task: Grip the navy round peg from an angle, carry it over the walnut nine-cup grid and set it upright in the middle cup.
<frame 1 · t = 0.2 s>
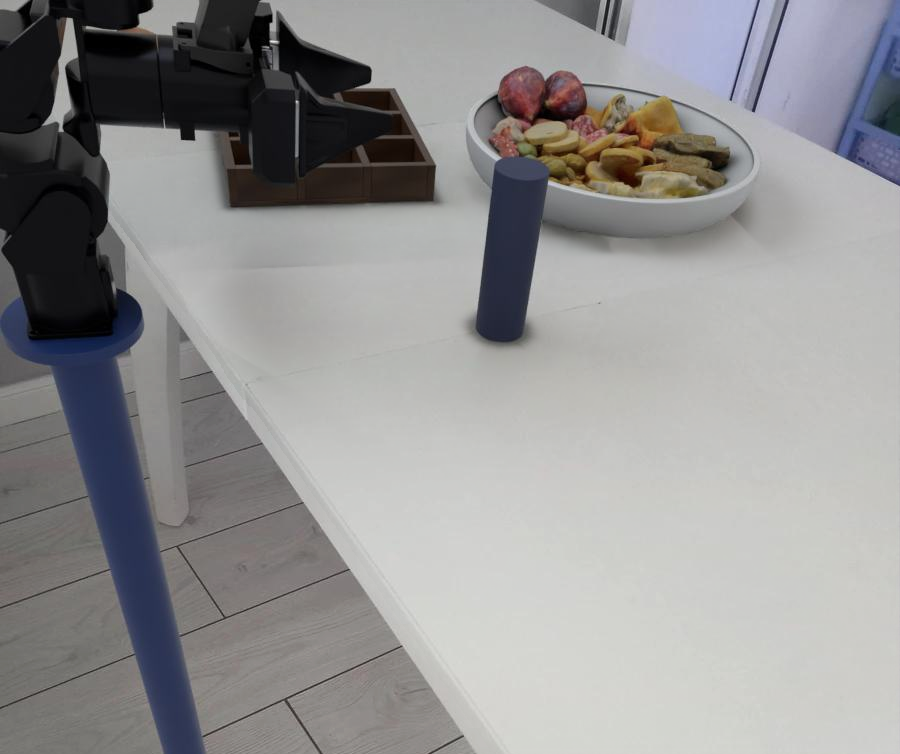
hand: (381, 97, 66), 15 cm above the table, tool horizontal, fingers open, 9 cm apart
navy round peg: (499, 329, 73), on the table
bowl: (602, 186, 94), on the table
grid: (319, 160, 92), on the table
sunglasses case: (171, 86, 102), on the table
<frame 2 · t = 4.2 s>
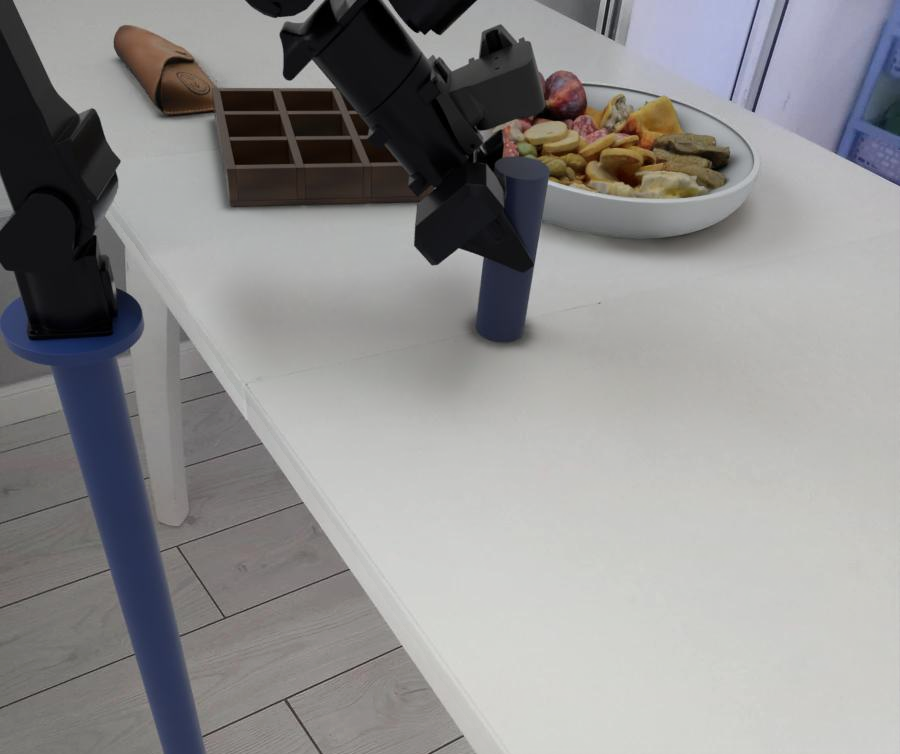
hand: (527, 254, 68), 7 cm above the table, tool tilted 45°, fingers closed on navy round peg, 4 cm apart
navy round peg: (499, 328, 73), on the table, touching gripper
everything else where it was.
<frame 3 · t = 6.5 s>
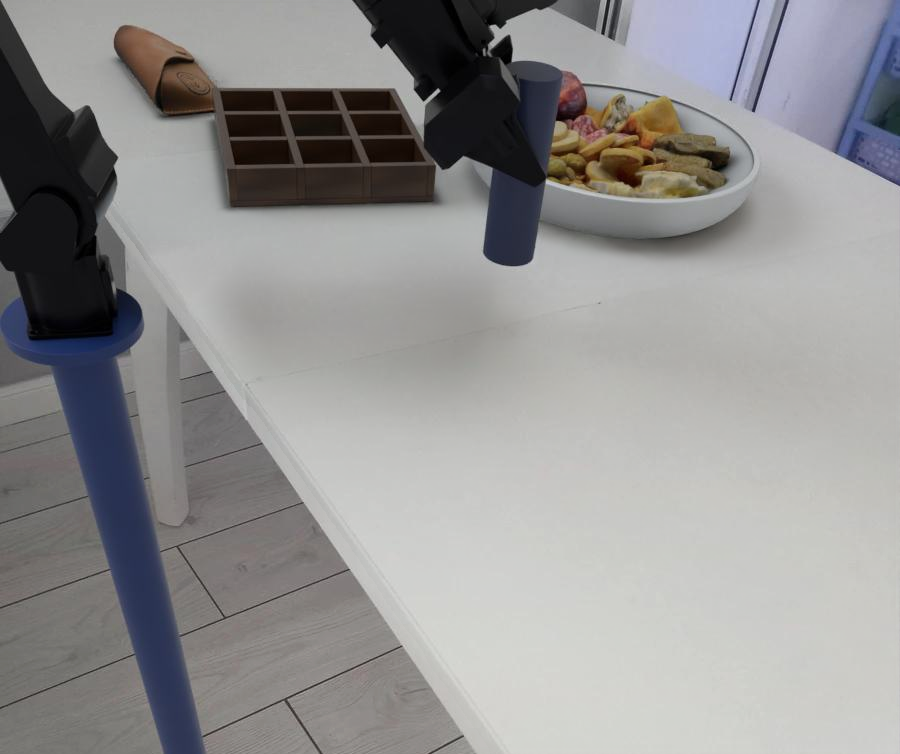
hand: (538, 169, 65), 13 cm above the table, tool tilted 45°, fingers closed on navy round peg, 4 cm apart
navy round peg: (508, 254, 70), point 6 cm above the table, touching gripper
everything else where it was.
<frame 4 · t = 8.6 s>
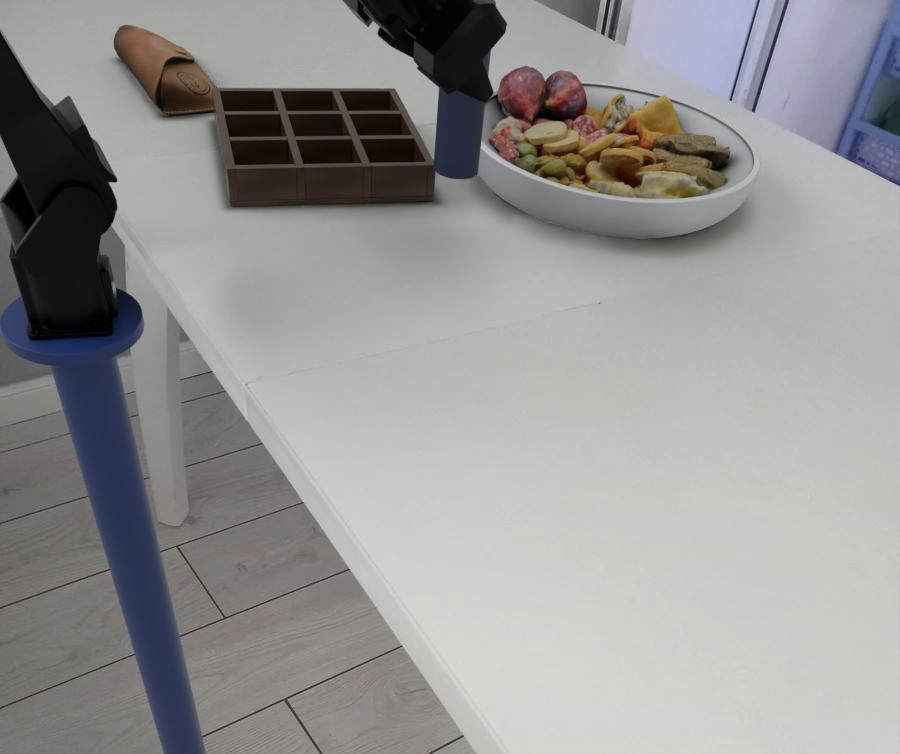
hand: (477, 88, 75), 13 cm above the table, tool tilted 45°, fingers closed on navy round peg, 4 cm apart
navy round peg: (455, 169, 79), point 6 cm above the table, touching gripper
everything else where it was.
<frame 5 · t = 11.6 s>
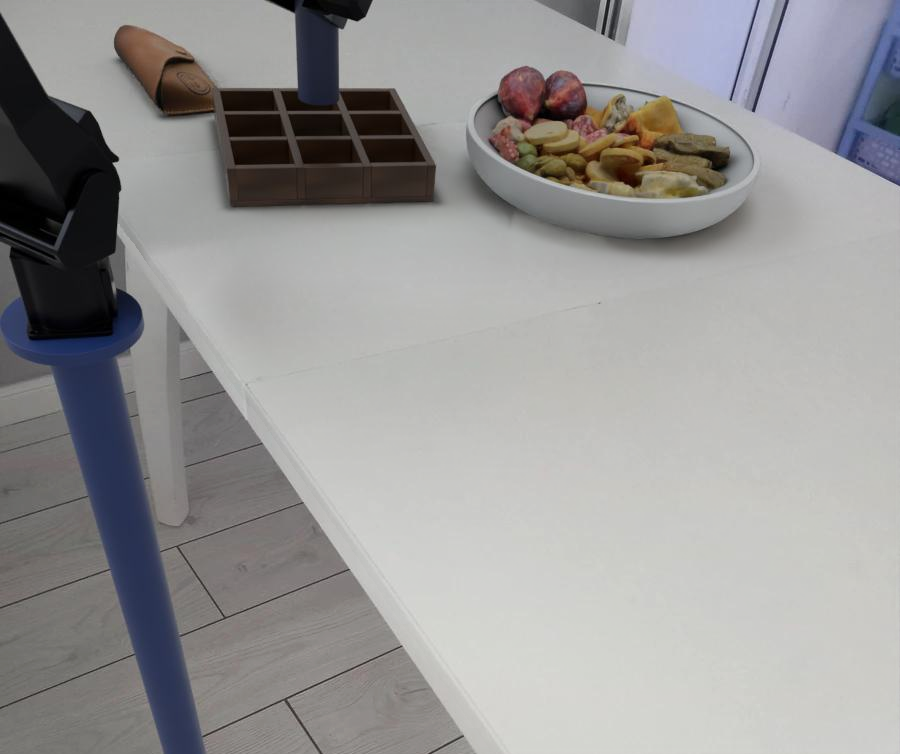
hand: (325, 18, 83), 13 cm above the table, tool tilted 45°, fingers closed on navy round peg, 4 cm apart
navy round peg: (318, 98, 87), point 6 cm above the table, touching gripper
everything else where it was.
when the fingers open (7 cm above the table, at t = 13.5 s): navy round peg stays where it is, resting on grid.
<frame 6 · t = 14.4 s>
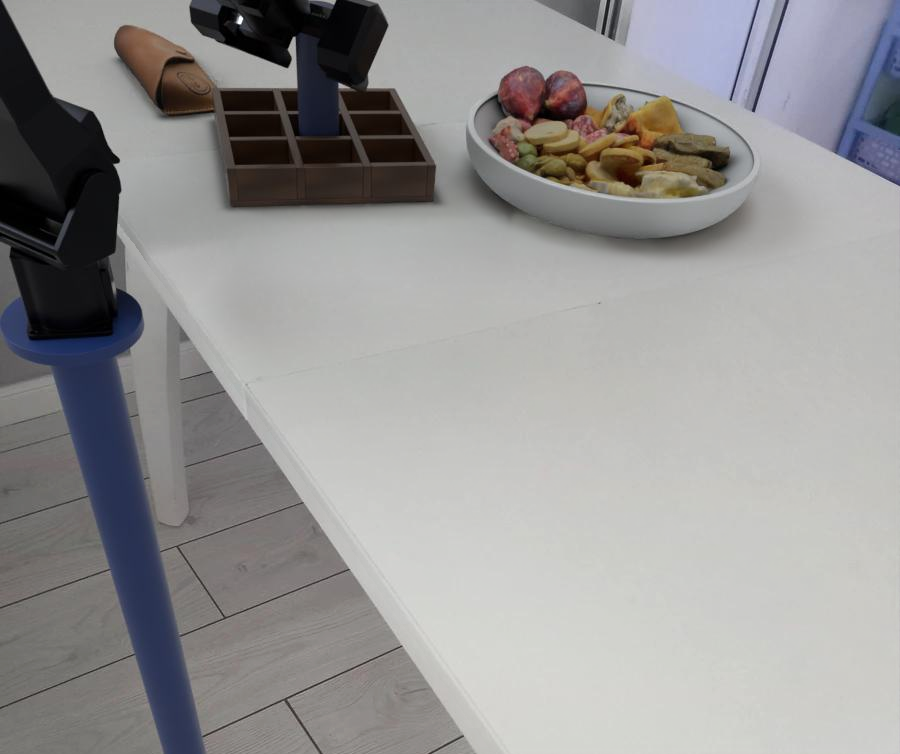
hand: (326, 75, 87), 8 cm above the table, tool tilted 45°, fingers open, 9 cm apart
navy round peg: (319, 153, 91), point 1 cm above the table, touching grid
everything else where it was.
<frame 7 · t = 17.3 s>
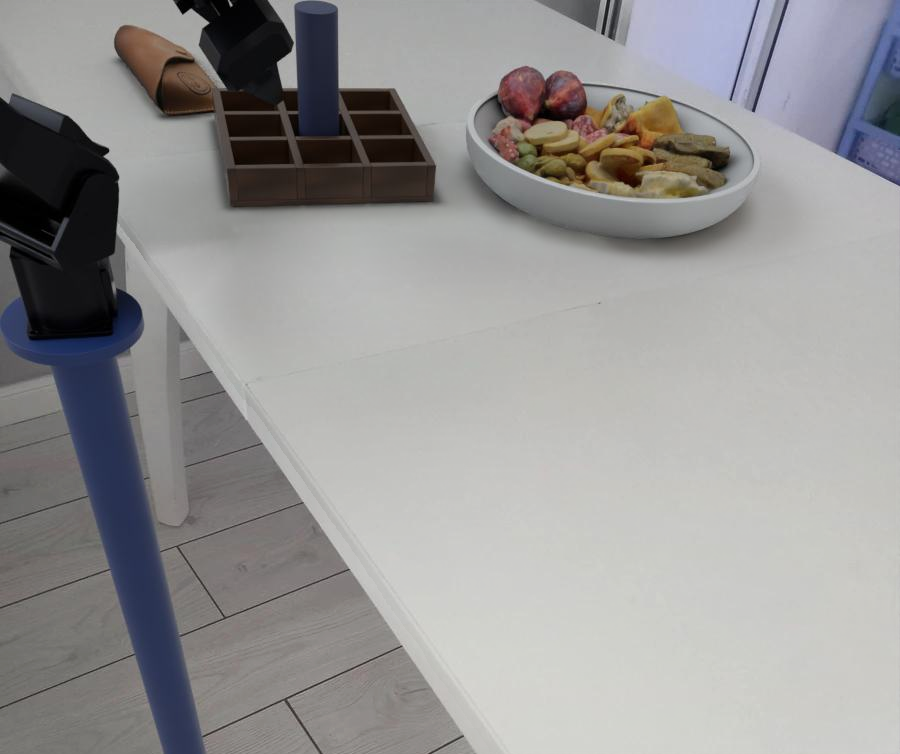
hand: (256, 67, 77), 11 cm above the table, tool tilted 35°, fingers open, 9 cm apart
nothing on the table moved.
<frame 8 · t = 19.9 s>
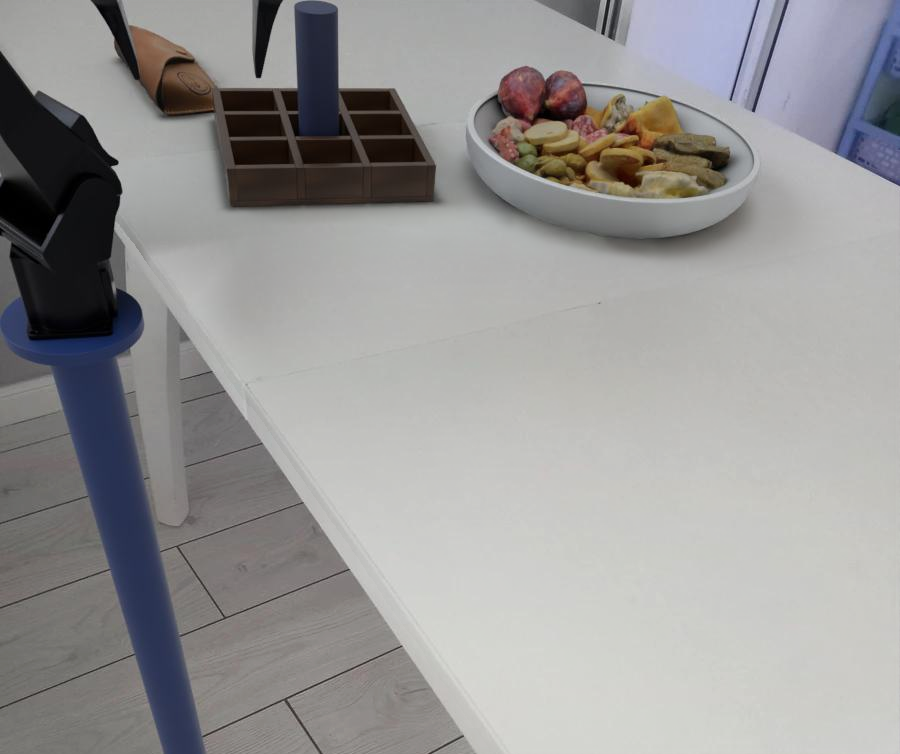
hand: (198, 77, 70), 13 cm above the table, tool pointing down, fingers open, 9 cm apart
nothing on the table moved.
at the end: navy round peg 0.0 cm off-centre in the grid, point 0.7 cm above the grid's base; navy round peg tilted 0°; the gripper is holding nothing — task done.
